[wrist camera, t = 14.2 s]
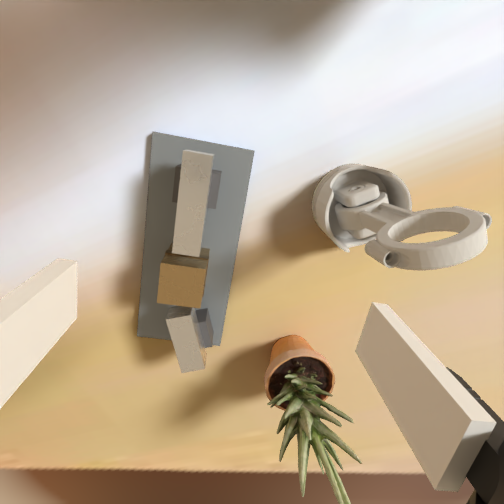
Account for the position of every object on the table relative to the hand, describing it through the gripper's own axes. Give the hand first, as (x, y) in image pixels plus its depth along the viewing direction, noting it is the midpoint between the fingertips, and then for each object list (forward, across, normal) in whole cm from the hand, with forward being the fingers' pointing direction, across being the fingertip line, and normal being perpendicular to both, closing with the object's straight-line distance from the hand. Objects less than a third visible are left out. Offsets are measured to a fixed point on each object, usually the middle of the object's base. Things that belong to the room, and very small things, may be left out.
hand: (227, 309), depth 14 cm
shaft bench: (+29, -4, -8) cm, 30 cm away
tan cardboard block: (+28, -4, -10) cm, 30 cm away
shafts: (+24, -3, -9) cm, 26 cm away
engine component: (+29, +16, +2) cm, 33 cm away
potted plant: (+29, +13, -22) cm, 39 cm away
